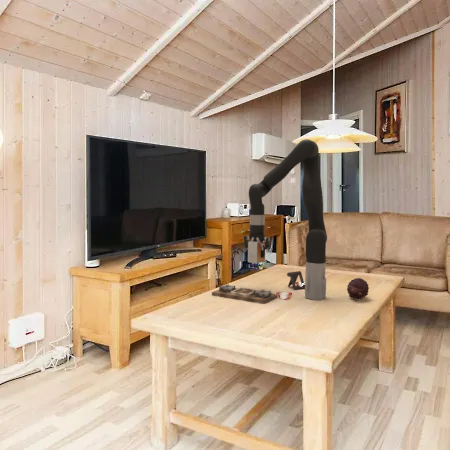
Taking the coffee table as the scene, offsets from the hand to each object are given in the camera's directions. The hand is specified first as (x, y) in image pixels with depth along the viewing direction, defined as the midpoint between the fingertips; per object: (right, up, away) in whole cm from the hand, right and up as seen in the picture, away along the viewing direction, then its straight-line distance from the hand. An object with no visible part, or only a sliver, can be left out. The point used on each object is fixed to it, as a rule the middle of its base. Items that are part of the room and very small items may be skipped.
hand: (256, 256), depth 215 cm
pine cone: (+48, -19, -11) cm, 53 cm away
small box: (0, -3, 0) cm, 3 cm away
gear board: (-7, -18, -11) cm, 22 cm away
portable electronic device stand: (+22, -17, +10) cm, 29 cm away
